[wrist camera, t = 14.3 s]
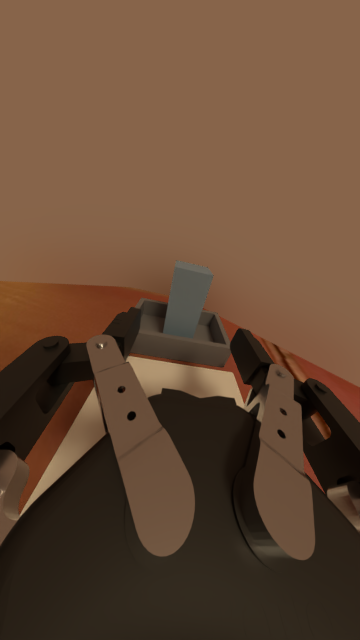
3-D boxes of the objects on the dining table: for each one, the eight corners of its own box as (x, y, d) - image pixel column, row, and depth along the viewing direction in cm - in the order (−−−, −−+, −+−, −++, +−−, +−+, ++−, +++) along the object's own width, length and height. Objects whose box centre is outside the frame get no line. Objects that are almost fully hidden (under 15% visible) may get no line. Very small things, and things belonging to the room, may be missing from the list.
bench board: (31, 519, 9) (19, 516, 8) (113, 364, 19) (113, 353, 18) (272, 532, 10) (289, 530, 9) (227, 381, 20) (232, 372, 19)
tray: (121, 350, 21) (120, 329, 19) (140, 314, 30) (141, 297, 28) (223, 367, 22) (233, 349, 20) (211, 328, 32) (217, 312, 30)
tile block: (161, 340, 24) (174, 266, 17) (164, 324, 28) (176, 260, 22) (190, 345, 24) (213, 275, 18) (189, 328, 28) (207, 267, 22)
